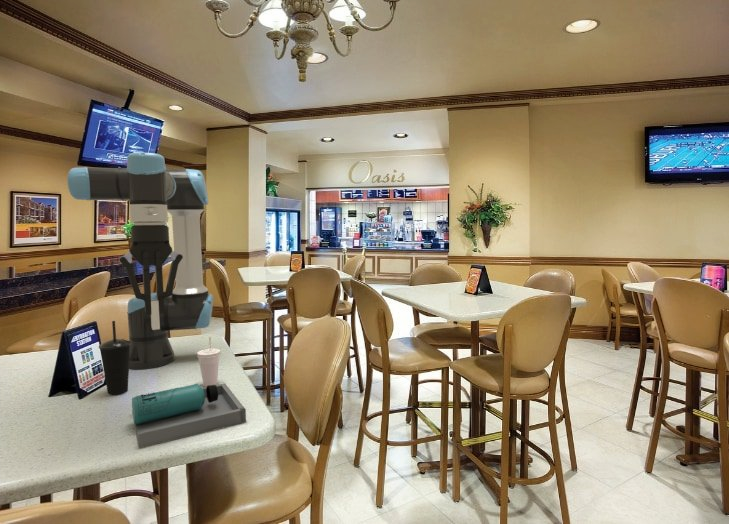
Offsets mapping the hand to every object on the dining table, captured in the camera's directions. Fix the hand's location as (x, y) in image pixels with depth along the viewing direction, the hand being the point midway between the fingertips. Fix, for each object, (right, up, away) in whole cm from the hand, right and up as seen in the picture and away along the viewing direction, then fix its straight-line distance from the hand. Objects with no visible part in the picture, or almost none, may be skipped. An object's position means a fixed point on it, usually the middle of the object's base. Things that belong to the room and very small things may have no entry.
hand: (155, 328), depth 97 cm
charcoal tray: (+6, -22, +5) cm, 23 cm away
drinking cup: (-21, -21, +21) cm, 37 cm away
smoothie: (+3, -21, +26) cm, 34 cm away
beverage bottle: (-6, -19, -1) cm, 20 cm away
